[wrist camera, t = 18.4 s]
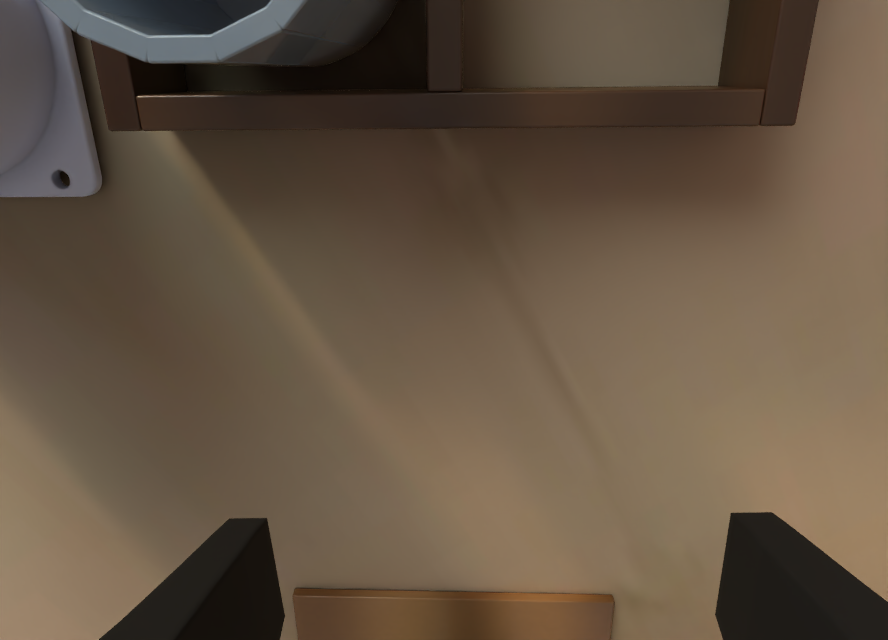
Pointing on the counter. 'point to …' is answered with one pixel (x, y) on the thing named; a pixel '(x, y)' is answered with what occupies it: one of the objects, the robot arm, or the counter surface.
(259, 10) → the cup
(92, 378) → the counter surface
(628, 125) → the cup holder
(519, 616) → the coaster
